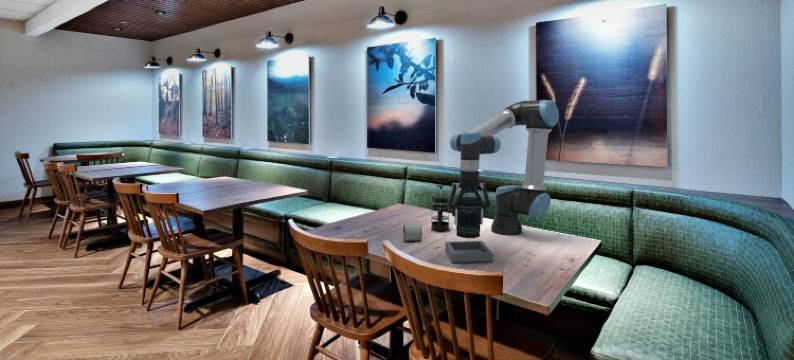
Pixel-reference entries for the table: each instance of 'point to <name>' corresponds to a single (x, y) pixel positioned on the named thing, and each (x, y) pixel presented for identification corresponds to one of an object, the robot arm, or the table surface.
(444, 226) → the french press
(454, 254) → the tray
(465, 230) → the storage jar
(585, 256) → the table surface
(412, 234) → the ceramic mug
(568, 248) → the table surface
